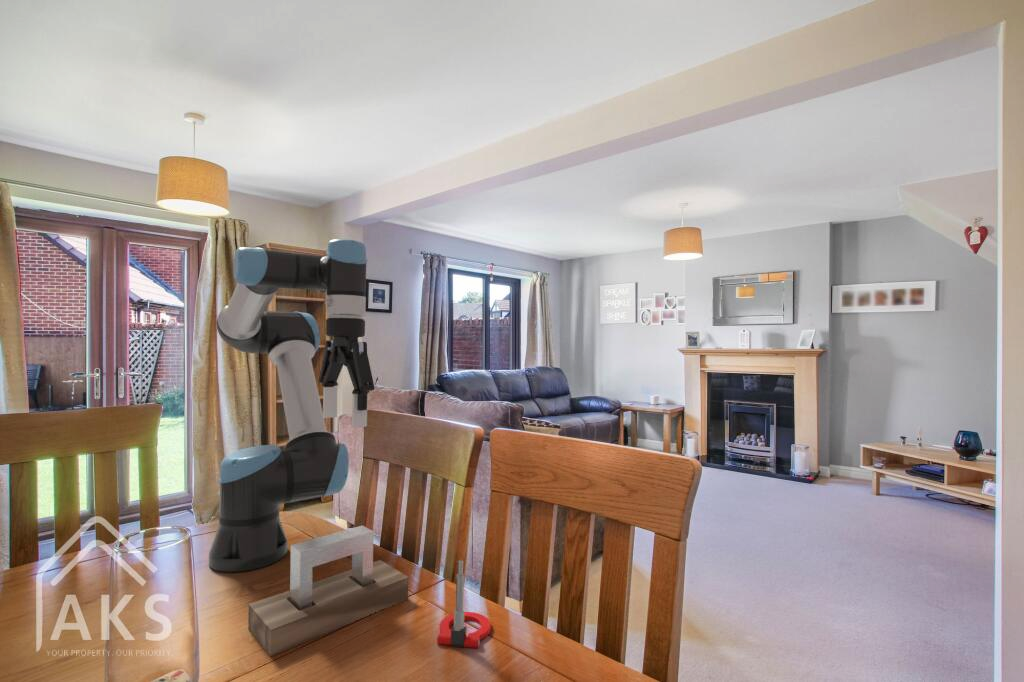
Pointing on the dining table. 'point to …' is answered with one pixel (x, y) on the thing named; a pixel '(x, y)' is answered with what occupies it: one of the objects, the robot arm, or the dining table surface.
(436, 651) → the dining table surface
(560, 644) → the dining table surface
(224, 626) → the dining table surface
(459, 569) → the tow hook
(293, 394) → the robot arm
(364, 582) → the clip
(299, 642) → the slotted wooden block
